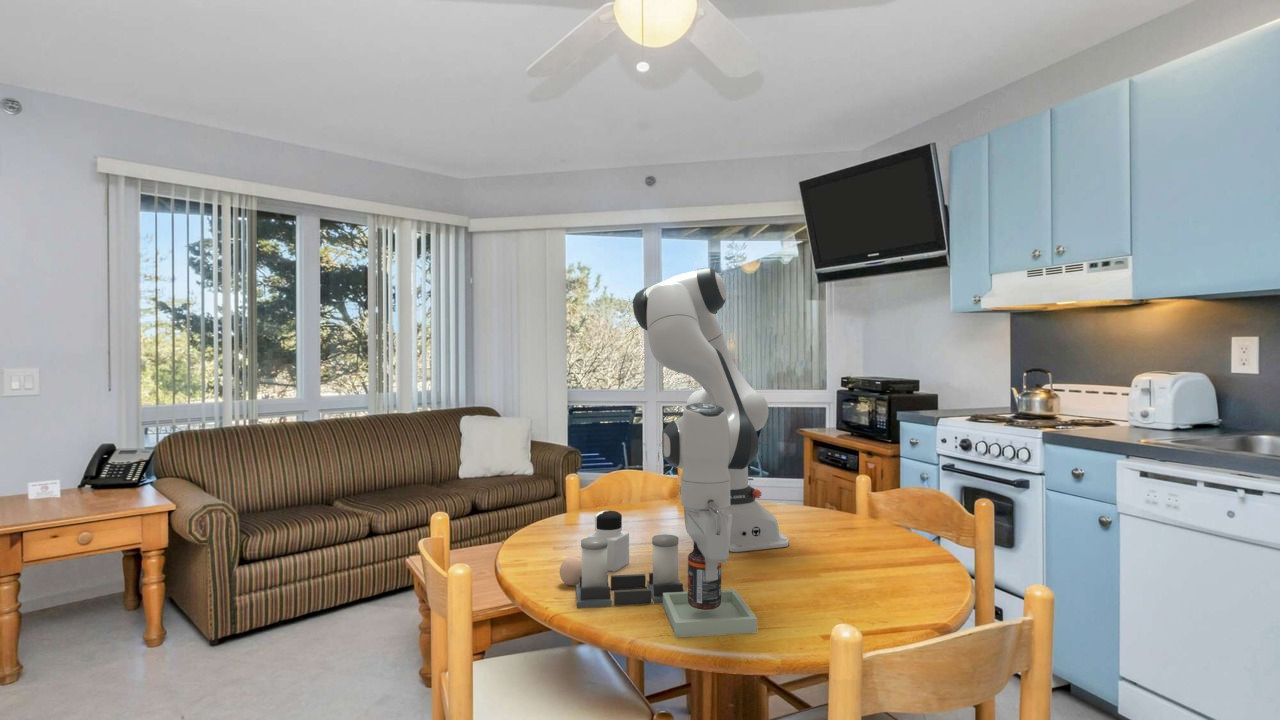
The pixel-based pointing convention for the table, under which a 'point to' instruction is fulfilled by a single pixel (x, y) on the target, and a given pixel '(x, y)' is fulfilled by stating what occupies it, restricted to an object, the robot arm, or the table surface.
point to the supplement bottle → (702, 583)
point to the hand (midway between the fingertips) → (705, 572)
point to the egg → (571, 570)
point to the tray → (709, 616)
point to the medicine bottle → (613, 538)
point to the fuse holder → (596, 579)
